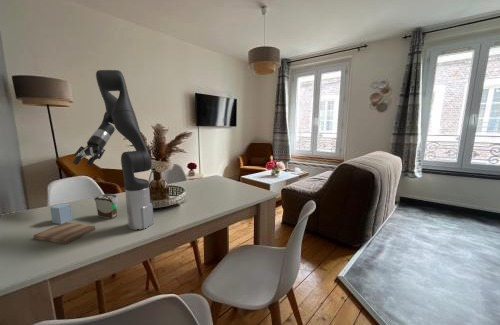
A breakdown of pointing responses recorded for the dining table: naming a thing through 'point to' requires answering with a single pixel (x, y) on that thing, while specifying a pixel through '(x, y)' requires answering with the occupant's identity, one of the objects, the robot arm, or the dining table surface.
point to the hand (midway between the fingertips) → (81, 164)
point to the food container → (106, 205)
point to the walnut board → (64, 232)
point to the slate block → (61, 213)
